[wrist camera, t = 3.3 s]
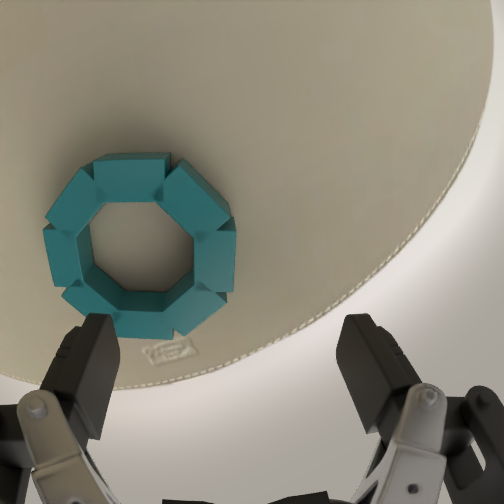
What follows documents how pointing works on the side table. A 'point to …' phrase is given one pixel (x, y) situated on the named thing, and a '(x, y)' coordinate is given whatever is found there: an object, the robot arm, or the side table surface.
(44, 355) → the side table surface
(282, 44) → the side table surface
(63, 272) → the ring
